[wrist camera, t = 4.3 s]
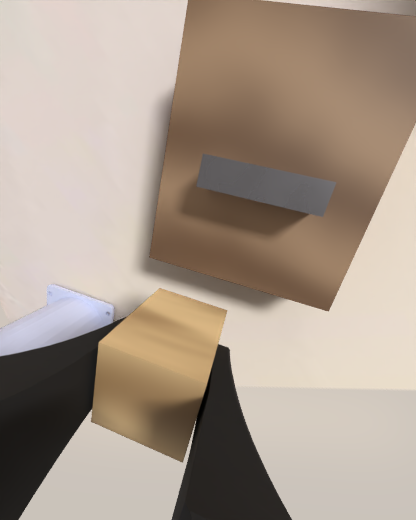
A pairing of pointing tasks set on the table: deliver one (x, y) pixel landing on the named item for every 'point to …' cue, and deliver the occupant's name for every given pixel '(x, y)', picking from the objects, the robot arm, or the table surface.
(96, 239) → the table surface
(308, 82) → the lid
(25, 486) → the robot arm
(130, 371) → the wooden block
